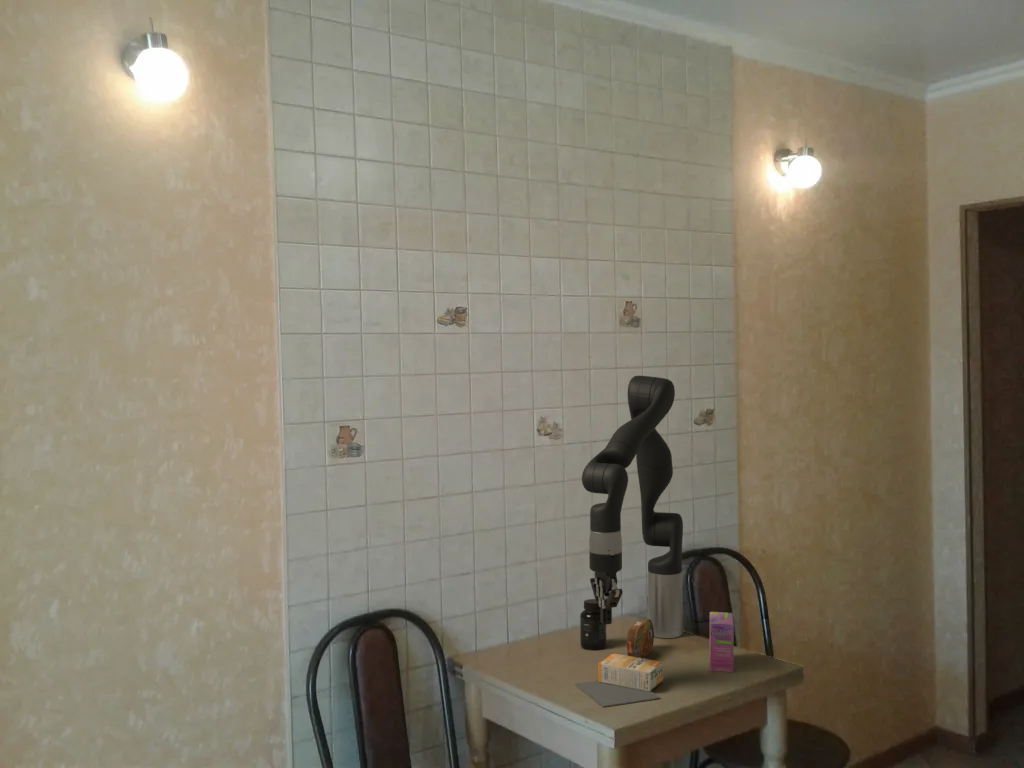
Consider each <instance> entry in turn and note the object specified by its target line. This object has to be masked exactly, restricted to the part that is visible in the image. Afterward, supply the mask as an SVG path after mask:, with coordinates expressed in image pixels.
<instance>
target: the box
mask: <svg viewBox="0 0 1024 768" xmlns="http://www.w3.org/2000/svg"><path fill="white" fill-rule="evenodd" d="M734 639H735V624H734V615H733V612H728V611H727V612H725V611H724V612H723V611H722V612H721V611H709V671H710V672H714V673H715V672H716V673H729V674H730V673H733V674H734V643H735V642H734Z"/></svg>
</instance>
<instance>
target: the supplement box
mask: <svg viewBox="0 0 1024 768" xmlns="http://www.w3.org/2000/svg"><path fill="white" fill-rule="evenodd" d="M597 667H598V668H597V669H598V670H597V671H598V672H597V673H598V680H599V682H602V683H607V684H613V685H618V686H623V687H628V688H633V689H638V690H644V691H649V692H650V691H653V690H654V689H655V688H656V687H658V686H659V685H660V684H661V683H663V681H664V662H663V661H660V660H655V659H654V660H653V659H649V658H644V659H643V658H637V657H631V656H628V655H625V654H617V653H611V654H610V655H609V656H607V657H606V658H605V659H603V660H602V661H600V662H598V665H597Z"/></svg>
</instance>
